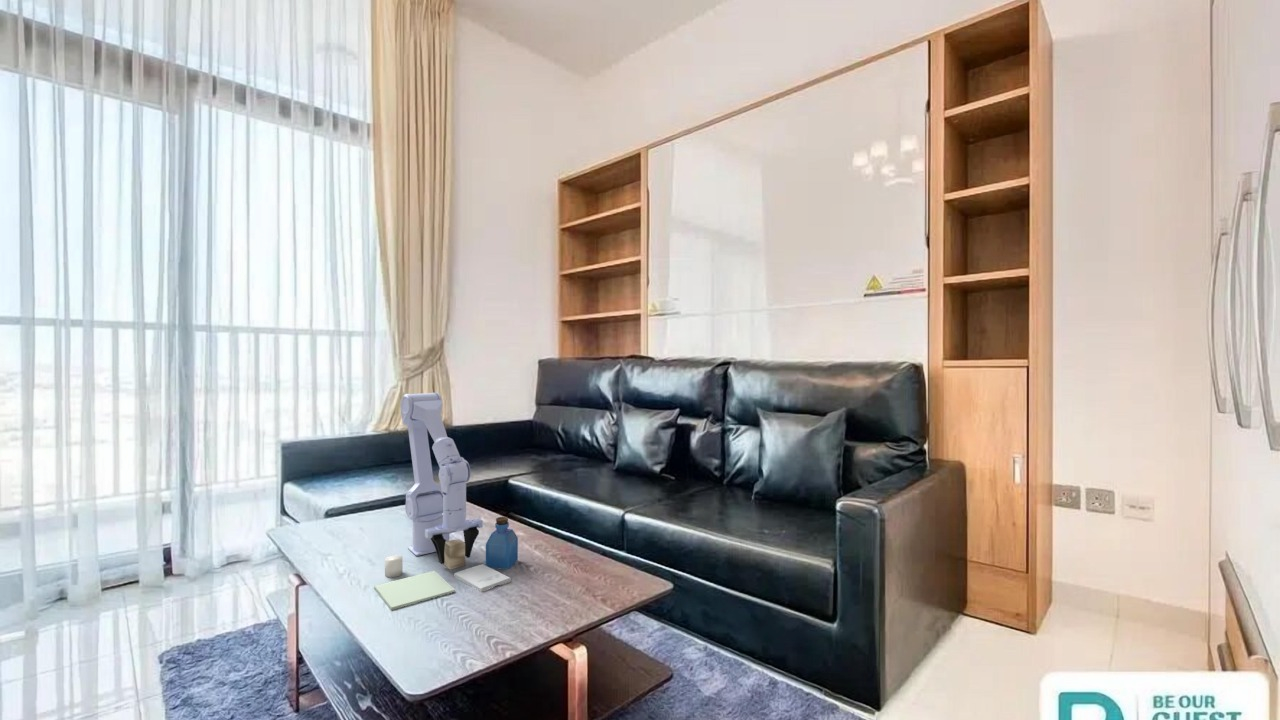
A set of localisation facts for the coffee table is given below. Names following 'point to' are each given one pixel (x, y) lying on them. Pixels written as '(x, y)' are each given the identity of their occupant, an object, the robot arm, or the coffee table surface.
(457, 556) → the birch block
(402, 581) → the sage mat
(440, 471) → the robot arm
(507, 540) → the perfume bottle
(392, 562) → the ceramic cylinder
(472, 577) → the external hard drive
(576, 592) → the coffee table surface
